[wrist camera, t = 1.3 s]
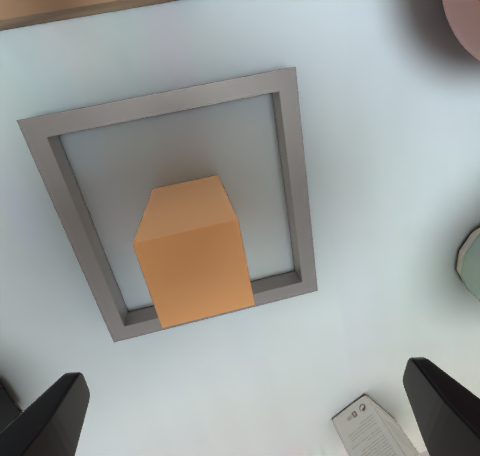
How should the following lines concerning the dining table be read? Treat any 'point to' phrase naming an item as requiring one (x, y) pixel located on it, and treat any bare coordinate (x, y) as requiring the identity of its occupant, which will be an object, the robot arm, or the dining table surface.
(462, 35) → the mortar and pestle
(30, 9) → the frame
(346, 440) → the skincare box
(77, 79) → the dining table surface
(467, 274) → the disposable coffee cup
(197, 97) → the gray square frame
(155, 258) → the plug block
